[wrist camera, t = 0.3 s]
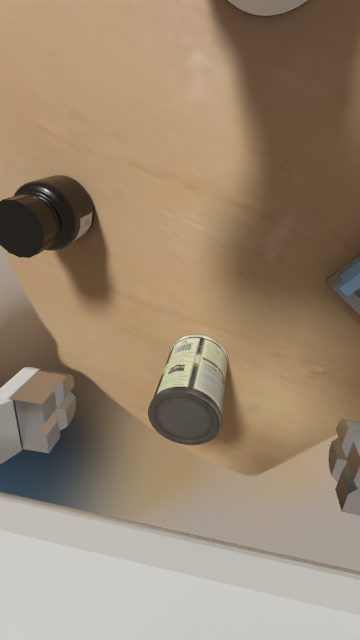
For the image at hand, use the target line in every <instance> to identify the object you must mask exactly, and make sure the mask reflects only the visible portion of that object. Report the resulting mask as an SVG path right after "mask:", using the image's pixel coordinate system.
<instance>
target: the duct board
mask: <svg viewBox="0 0 360 640" xmlns="http://www.w3.org/2000/svg"><path fill="white" fill-rule="evenodd" d="M326 281H327V284H328V285H329V286H331V288H332V289H333V290H334V291H335V292H336V293H337V294H338V295H339V296H340V297H341V298H342V299H343V300H344V301H345V302H346V303H347V304H349V305H350V306H351V307H352V308H353V309H354V310H355V311H356V312H357V313H358V314H359V315H360V254H359V255H358V256H357V257H355V258H354V259H353V260H352V261H350V262H349V263H348V264H346V265H345V266H344V267H343V268H341V269H340V270H339V271H338V272H336V273H335V274H334V275H333V276H331V277H330V278H329V279H327V280H326Z"/></svg>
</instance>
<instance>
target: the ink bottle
mask: <svg viewBox="0 0 360 640" xmlns="http://www.w3.org/2000/svg"><path fill="white" fill-rule="evenodd" d="M93 220H94V209H93V205H92V202H91V199H90V197H89V195H88V193H87V192H86V190H85V189H84V188H83V187H82V185H81V184H79V183H78V182H77V181H76V180H74V179H72V178H70V177H67V176H60V175H58V176H51V177H47V178H44V179H40V180H36V181H32V182H29V183H26V184H24V185H23V186H21V187H20V188H19V189H18V190H17V191H16V193H15V194H14V196H13V197H10V198H7V199H4V200H2V201H0V245H1V246H2V247H3V248H5V249H6V250H7V251H8V252H9V253H12V254H14V255H16V256H18V257H28V258H30V257H32V256H34V255H37V254H39V253H40V252H42V251H44V250H50V251H52V250H59V249H62V248H64V247H66V246H67V245H69V244H71V243H72V242H74V241H75V240H77V239H78V238H80V237H81V236H83V235H84V234H86V233H87V232H88V231H89V229H90V228H91V226H92V224H93Z"/></svg>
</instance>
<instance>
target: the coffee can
mask: <svg viewBox="0 0 360 640" xmlns="http://www.w3.org/2000/svg"><path fill="white" fill-rule="evenodd" d="M227 366H228V356H227V353H226V351H225V349H224V348H223V347H222V345H221V344H219V343H218V342H217V341H216V340H214V339H212V338H210V337H208V336H204V335H197V334H194V335H188V336H184V337H182V338H180V339H179V340H177V341H176V342H175V343H174V345H173V346H172V348H171V351H170V354H169V357H168V360H167V363H166V365H165V368H164V371H163V373H162V376H161V379H160V381H159V384H158V387H157V390H156V392H155V395H154V398H153V400H152V401H151V403H150V405H149V409H148V416H149V420H150V422H151V424H152V426H153V427H154V428H155V430H156V431H157V432H158V433H160V434H161V435H162V436H164V437H165V438H167V439H169V440H171V441H173V442H176V443H180V444H185V445H199V444H203V443H206V442H208V441H210V440H212V439H214V438H215V437H216V436H217V435H218V433H219V431H220V429H221V425H222V418H221V416H222V407H223V398H224V389H225V381H226V372H227Z"/></svg>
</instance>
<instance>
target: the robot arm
mask: <svg viewBox="0 0 360 640" xmlns="http://www.w3.org/2000/svg"><path fill="white" fill-rule="evenodd" d="M228 1H229V2H230V3H231V4H233V5H234V6H236V7H237V8H239V9H241V10H242V11H245V12H247V13H250V14H254V15H261V16H270V15H277V14H281V13H285V12H287V11H290V10H292V9H294V8H296V7H298V6H300V5H302V4H303V3H305V2H306V1H308V0H228ZM73 387H74V381H73V377H72V376H71V375H70V374H65V373H59V372H54V371H49V370H43V369H42V370H41V369H37V368H31V367H26V368H23V369H22V370H21V371H20V372H19V373H17V374H16V375H15V376H14V377H13V378H12V379H11V380H9V381H8V382H7V383H6V384H5V385H4V386H3V387H2V388H1V389H0V464H1V463H3V462H4V461H6V460H7V459H9V458H10V457H12V456H14V455H15V454H17V453H18V452H20V451H21V450H22V449H27V450H33V451H39V452H45V453H49V452H50V451H51V449H52V448H53V446H54V445H55V443H56V442H57V441H58V439H59V437H60V430H61V429H63V428H65V427H67V426H68V425H69V423H70V422H71V420H72V417H73V415H74V412H75V406H76V400H75V396H74V395H73V394H72V392H71V389H72V388H73ZM336 431H337V434H338V438H337V439H335V440H334V441H332V443H331V447H330V450H329V467H330V472H331V475H332V476H333V477H334V478H335V480H336V481H337V482H338V484H337V486H336V489H335V490H336V493H337V497H338V499H339V504H340V507H341V511H343V512H347V513H351V514H356V515H360V422H358V421H351V420H345V419H341V420H340V422H339V423H338V426H337V428H336ZM0 640H360V571H355V570H351V569H346V568H342V567H337V566H332V565H328V564H324V563H319V562H315V561H310V560H305V559H301V558H296V557H292V556H287V555H283V554H278V553H274V552H269V551H264V550H260V549H255V548H251V547H247V546H242V545H238V544H233V543H228V542H224V541H219V540H215V539H210V538H206V537H201V536H197V535H192V534H188V533H183V532H178V531H174V530H169V529H165V528H160V527H156V526H151V525H147V524H142V523H137V522H133V521H128V520H124V519H120V518H115V517H111V516H106V515H102V514H97V513H92V512H88V511H83V510H79V509H74V508H69V507H65V506H60V505H56V504H51V503H47V502H42V501H38V500H33V499H29V498H24V497H20V496H15V495H11V494H6V493H1V492H0Z"/></svg>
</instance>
